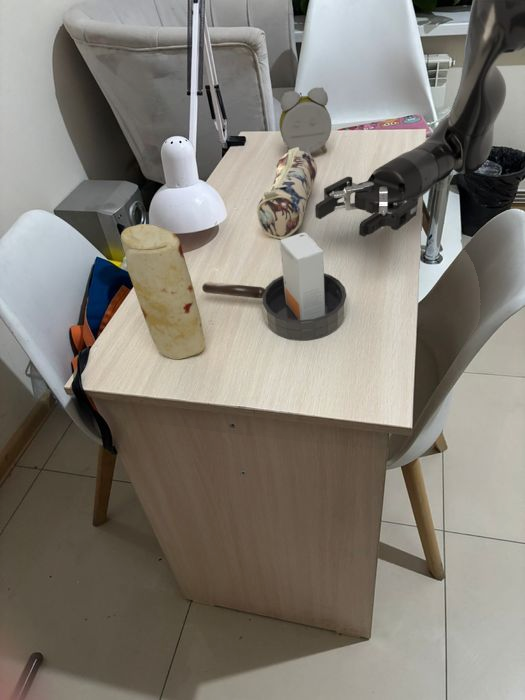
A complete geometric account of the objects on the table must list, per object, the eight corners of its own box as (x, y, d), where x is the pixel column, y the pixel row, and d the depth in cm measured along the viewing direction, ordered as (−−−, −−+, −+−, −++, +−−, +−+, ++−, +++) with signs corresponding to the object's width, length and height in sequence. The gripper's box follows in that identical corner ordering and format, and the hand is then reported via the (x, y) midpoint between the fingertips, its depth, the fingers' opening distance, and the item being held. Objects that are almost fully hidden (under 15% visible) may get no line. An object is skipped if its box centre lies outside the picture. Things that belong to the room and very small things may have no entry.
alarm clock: (328, 148, 125) (327, 82, 115) (333, 160, 120) (333, 91, 110) (281, 155, 125) (276, 89, 115) (284, 166, 120) (279, 99, 110)
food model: (217, 341, 78) (191, 225, 64) (192, 370, 74) (158, 252, 60) (167, 325, 82) (132, 212, 68) (140, 351, 78) (98, 237, 64)
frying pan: (352, 292, 83) (352, 274, 81) (337, 345, 74) (337, 327, 72) (276, 285, 87) (274, 267, 84) (254, 335, 78) (251, 317, 76)
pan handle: (268, 294, 81) (266, 285, 80) (264, 301, 80) (263, 292, 79) (205, 288, 84) (203, 279, 83) (201, 294, 83) (199, 285, 82)
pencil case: (302, 241, 96) (299, 193, 89) (258, 240, 98) (252, 192, 91) (318, 187, 111) (317, 142, 104) (280, 187, 113) (276, 143, 106)
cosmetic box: (284, 304, 82) (278, 239, 74) (308, 295, 83) (305, 230, 75) (301, 325, 78) (296, 259, 70) (326, 316, 79) (324, 250, 70)
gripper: (369, 147, 85) (302, 185, 77) (446, 168, 76) (378, 212, 69) (367, 190, 90) (304, 229, 82) (439, 214, 81) (376, 259, 74)
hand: (338, 221), depth 76 cm, fingers open, 8 cm apart
